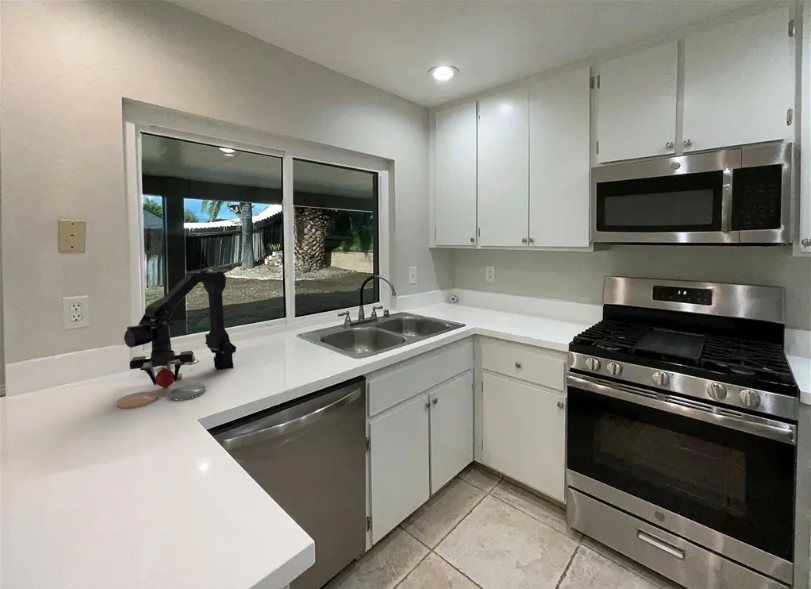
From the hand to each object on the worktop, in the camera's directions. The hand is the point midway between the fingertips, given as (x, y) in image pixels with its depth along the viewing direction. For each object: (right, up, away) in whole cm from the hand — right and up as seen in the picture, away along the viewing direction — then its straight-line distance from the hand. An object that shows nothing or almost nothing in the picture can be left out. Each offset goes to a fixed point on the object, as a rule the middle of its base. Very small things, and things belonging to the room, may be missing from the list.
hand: (165, 382), depth 139 cm
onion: (0, -2, 0) cm, 2 cm away
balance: (-4, -1, +9) cm, 10 cm away
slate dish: (+11, -3, -5) cm, 12 cm away
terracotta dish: (-3, -4, -11) cm, 12 cm away
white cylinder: (-13, +1, +24) cm, 27 cm away
